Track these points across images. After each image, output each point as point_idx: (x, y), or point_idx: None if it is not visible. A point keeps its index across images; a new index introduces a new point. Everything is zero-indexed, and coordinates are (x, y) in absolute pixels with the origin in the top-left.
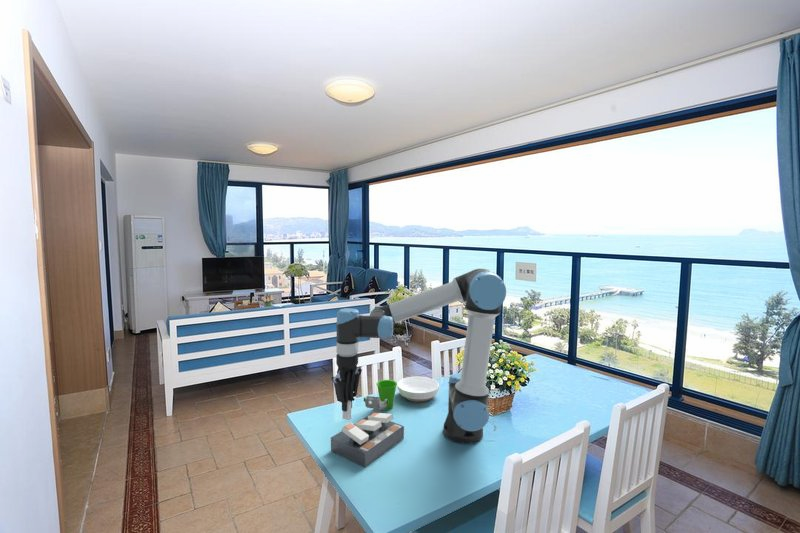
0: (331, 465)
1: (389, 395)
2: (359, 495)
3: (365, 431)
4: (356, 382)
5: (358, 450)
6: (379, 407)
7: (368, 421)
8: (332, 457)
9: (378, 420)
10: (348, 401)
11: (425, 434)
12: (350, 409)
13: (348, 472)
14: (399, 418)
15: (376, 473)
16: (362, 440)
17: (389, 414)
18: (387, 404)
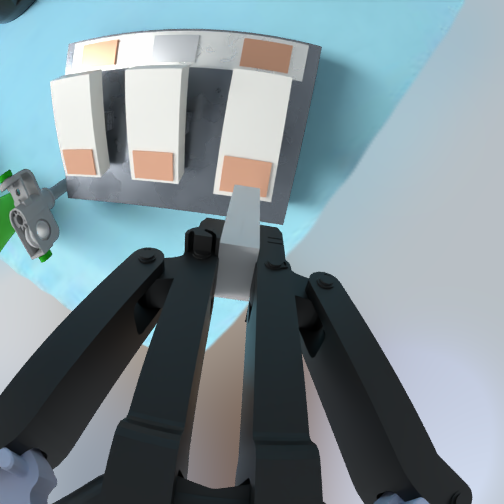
0: (345, 158)
1: None
2: (420, 32)
3: (187, 119)
4: (77, 360)
5: (315, 78)
6: (34, 191)
7: (140, 135)
8: (307, 178)
9: (100, 116)
10: (239, 258)
11: (53, 23)
12: (236, 210)
13: (355, 92)
14: (24, 140)
15: (319, 12)
16: (281, 76)
17: (56, 91)
18: (9, 204)
